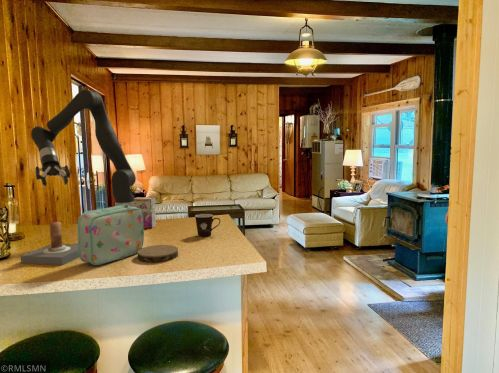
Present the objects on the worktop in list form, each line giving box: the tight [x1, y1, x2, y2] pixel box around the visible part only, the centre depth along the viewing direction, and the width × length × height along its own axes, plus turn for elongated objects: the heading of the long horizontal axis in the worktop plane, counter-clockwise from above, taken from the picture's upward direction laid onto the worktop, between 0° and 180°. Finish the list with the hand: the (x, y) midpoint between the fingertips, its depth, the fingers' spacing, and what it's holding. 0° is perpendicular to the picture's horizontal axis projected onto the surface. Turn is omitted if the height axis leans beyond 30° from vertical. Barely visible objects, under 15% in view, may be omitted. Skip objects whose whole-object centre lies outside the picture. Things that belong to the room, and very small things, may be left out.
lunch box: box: [77, 204, 145, 266], centre depth 148 cm, size 27×10×21 cm, turn 149°
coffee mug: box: [194, 213, 221, 238], centre depth 183 cm, size 12×9×10 cm
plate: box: [20, 243, 80, 266], centre depth 151 cm, size 18×18×3 cm
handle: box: [48, 221, 66, 252], centre depth 150 cm, size 6×6×11 cm
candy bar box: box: [134, 196, 157, 229], centre depth 204 cm, size 11×5×16 cm, turn 77°
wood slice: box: [137, 244, 179, 264], centre depth 150 cm, size 16×16×3 cm
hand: (55, 184), depth 172 cm, fingers open, 8 cm apart
